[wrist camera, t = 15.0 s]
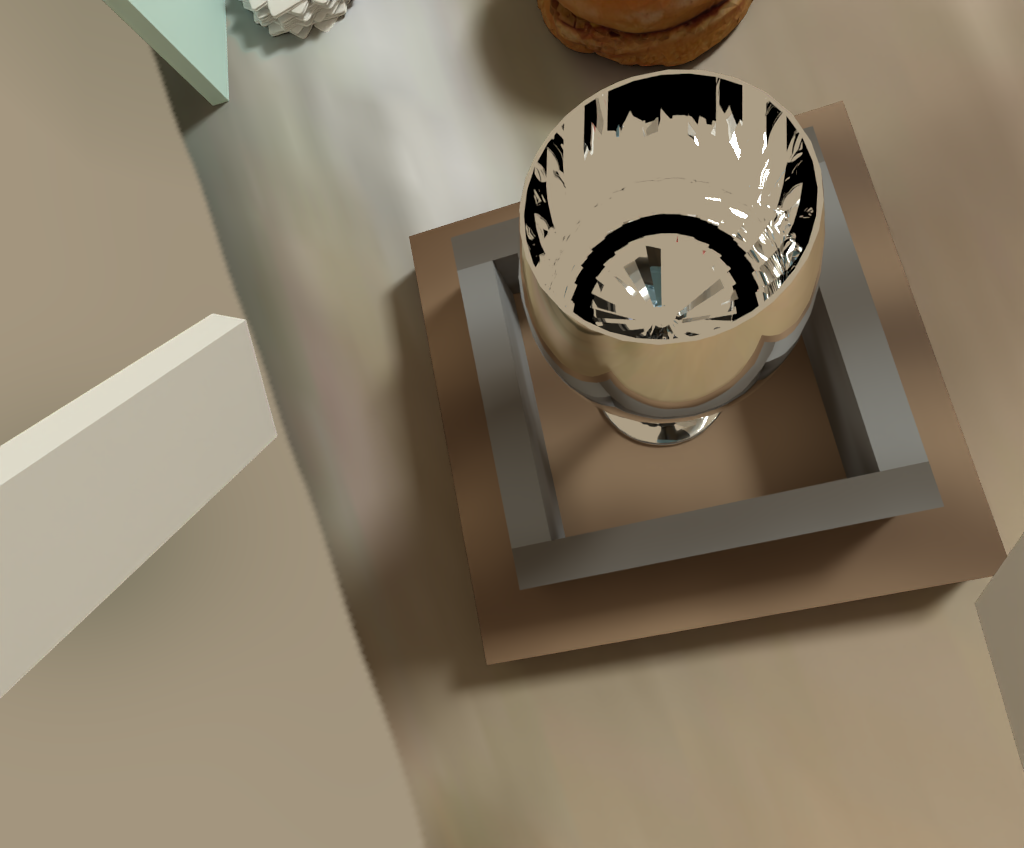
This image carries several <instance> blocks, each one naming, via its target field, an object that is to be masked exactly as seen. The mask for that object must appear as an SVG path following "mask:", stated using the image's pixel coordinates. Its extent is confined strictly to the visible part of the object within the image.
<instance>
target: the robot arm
mask: <svg viewBox="0 0 1024 848" xmlns="http://www.w3.org/2000/svg"><path fill="white" fill-rule="evenodd" d="M276 437H277V432H276V428H275V425H274V421H273V417H272V414H271V410H270V406H269V403H268V399H267V395H266V392H265V388H264V384H263V381H262V377H261V373H260V370H259V366H258V362H257V359H256V355H255V351H254V348H253V344H252V340H251V337H250V333H249V329H248V325H247V322H246V320H245V319H239V318H234V317H228V316H223V315H218V314H211V315H209V316H208V317H206V318H204V319H203V320H201V321H200V322H198V323H196V324H195V325H193V326H192V327H190V328H188V329H187V330H186V331H184V332H182V333H180V334H179V335H177V336H176V337H174V338H173V339H171V340H169V341H168V342H166V343H165V344H163V345H161V346H160V347H158V348H156V349H155V350H153V351H152V352H150V353H148V354H147V355H145V356H144V357H142V358H140V359H139V360H137V361H136V362H134V363H132V364H131V365H129V366H128V367H126V368H124V369H123V370H121V371H120V372H118V373H116V374H115V375H113V376H112V377H110V378H108V379H107V380H105V381H104V382H102V383H100V384H99V385H97V386H96V387H94V388H92V389H91V390H89V391H88V392H86V393H85V394H83V395H81V396H80V397H78V398H76V399H75V400H73V401H72V402H70V403H68V404H67V405H65V406H64V407H62V408H60V409H59V410H57V411H56V412H54V413H52V414H51V415H49V416H48V417H46V418H45V419H43V420H41V421H40V422H38V423H37V424H35V425H33V426H32V427H30V428H29V429H27V430H26V431H24V432H22V433H20V434H19V435H17V436H16V437H14V438H12V439H11V440H9V441H8V442H6V443H4V444H3V445H1V446H0V698H1V697H2V696H3V695H4V694H5V693H7V692H8V691H9V690H10V689H11V688H12V687H13V686H14V685H15V684H16V683H17V682H18V681H19V680H20V679H21V678H22V677H23V676H25V674H27V673H28V672H29V671H30V670H31V669H32V668H33V667H34V666H35V665H36V664H37V663H38V662H39V661H40V660H41V659H42V658H44V656H46V655H47V654H48V653H49V652H50V651H51V650H52V649H53V648H54V647H55V646H56V645H57V644H58V643H59V642H60V641H61V640H62V639H64V638H65V637H66V636H67V635H68V634H69V633H70V632H71V631H72V630H73V629H74V628H75V627H76V626H77V625H78V624H79V623H81V621H83V620H84V619H85V618H86V617H87V616H88V615H89V614H90V613H91V612H92V611H93V610H94V609H95V608H96V607H97V606H98V605H100V604H101V603H102V602H103V601H104V600H105V599H106V598H107V597H108V596H109V595H110V594H111V593H112V592H113V591H114V590H115V589H116V588H118V587H119V586H120V585H121V584H122V583H123V582H124V581H125V580H126V579H127V578H128V577H129V576H130V575H131V574H132V573H133V572H134V571H135V570H136V569H138V568H139V567H140V566H141V565H142V564H143V563H144V562H145V561H146V560H147V559H148V558H149V557H150V556H151V555H152V554H153V553H154V552H156V551H157V550H158V549H159V548H160V547H161V546H162V545H163V544H164V543H165V542H166V541H167V540H168V539H169V538H170V537H171V536H172V535H174V534H175V533H176V532H177V531H178V530H179V529H180V528H181V527H182V526H183V525H184V524H185V523H186V522H187V521H188V520H189V519H190V518H191V517H192V516H194V515H195V514H196V513H197V512H198V511H199V510H200V509H201V508H202V507H203V506H204V505H205V504H206V503H207V502H208V501H209V500H210V499H212V498H213V497H214V496H215V495H216V494H217V493H218V492H219V491H220V490H221V489H222V488H223V487H224V486H225V485H226V484H227V483H228V482H230V481H231V480H232V479H233V478H234V477H235V476H236V475H237V474H238V473H239V472H240V471H241V470H242V469H243V468H244V467H245V466H246V465H248V464H249V463H250V462H251V461H252V460H253V459H254V458H255V457H256V456H257V455H258V454H259V453H260V452H261V451H262V450H263V449H264V448H265V447H267V445H269V444H270V443H271V442H272V441H273V440H274V439H275V438H276ZM975 606H976V609H977V613H978V616H979V619H980V623H981V626H982V630H983V633H984V637H985V640H986V644H987V647H988V650H989V654H990V657H991V661H992V664H993V668H994V671H995V674H996V678H997V681H998V685H999V688H1000V692H1001V695H1002V698H1003V702H1004V705H1005V709H1006V712H1007V716H1008V719H1009V722H1010V726H1011V729H1012V733H1013V736H1014V740H1015V743H1016V746H1017V750H1018V753H1019V757H1020V760H1021V764H1022V767H1023V770H1024V533H1023V534H1022V536H1021V537H1020V539H1019V540H1018V542H1017V543H1016V545H1015V546H1014V547H1013V549H1012V550H1011V552H1010V553H1009V555H1008V556H1007V558H1006V559H1005V560H1004V562H1003V563H1002V565H1001V566H1000V568H999V569H998V571H997V572H996V573H995V575H994V576H993V578H992V579H991V581H990V582H989V584H988V585H987V586H986V588H985V589H984V591H983V592H982V594H981V595H980V597H979V598H978V600H977V601H976V602H975Z"/></svg>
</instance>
